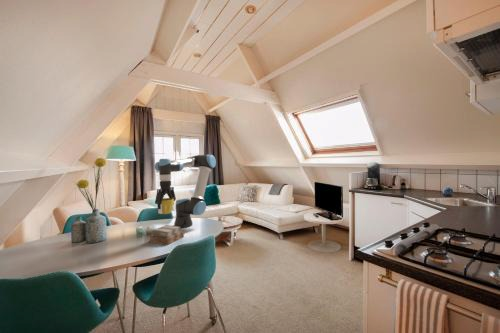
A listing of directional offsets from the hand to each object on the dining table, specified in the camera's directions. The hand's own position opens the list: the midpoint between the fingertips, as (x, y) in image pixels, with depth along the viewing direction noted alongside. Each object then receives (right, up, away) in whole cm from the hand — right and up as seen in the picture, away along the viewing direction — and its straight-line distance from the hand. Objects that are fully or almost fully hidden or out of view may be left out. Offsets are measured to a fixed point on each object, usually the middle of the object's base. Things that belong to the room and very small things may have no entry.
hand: (166, 211), depth 157 cm
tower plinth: (0, -20, +1) cm, 20 cm away
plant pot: (0, -1, 0) cm, 1 cm away
